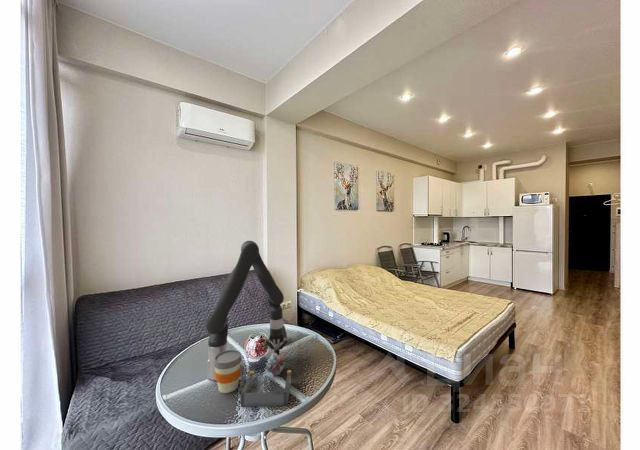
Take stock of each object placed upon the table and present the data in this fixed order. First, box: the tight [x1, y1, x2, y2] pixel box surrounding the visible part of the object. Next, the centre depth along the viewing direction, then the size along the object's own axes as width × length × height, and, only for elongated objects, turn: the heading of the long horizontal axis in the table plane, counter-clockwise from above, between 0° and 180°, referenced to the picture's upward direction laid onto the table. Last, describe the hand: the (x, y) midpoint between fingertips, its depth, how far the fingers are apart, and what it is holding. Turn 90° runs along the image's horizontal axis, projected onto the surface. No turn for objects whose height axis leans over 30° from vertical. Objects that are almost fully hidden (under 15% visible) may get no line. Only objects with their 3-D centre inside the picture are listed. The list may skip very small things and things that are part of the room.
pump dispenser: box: [280, 323, 288, 346], centre depth 166 cm, size 10×10×15 cm
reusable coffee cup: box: [214, 349, 243, 394], centre depth 123 cm, size 13×13×15 cm
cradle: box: [240, 369, 292, 408], centre depth 118 cm, size 20×17×6 cm
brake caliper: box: [265, 352, 286, 376], centre depth 134 cm, size 11×11×12 cm
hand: (277, 356), depth 146 cm, fingers closed
